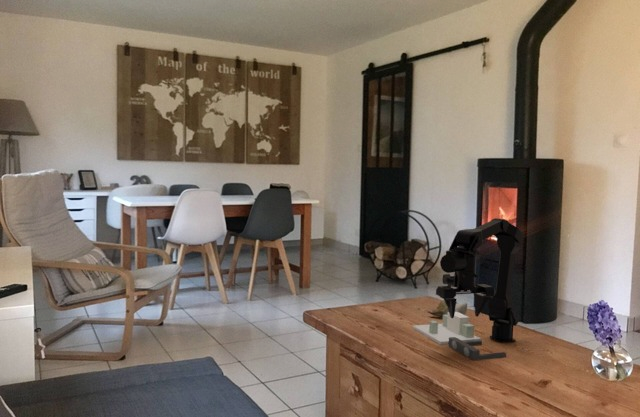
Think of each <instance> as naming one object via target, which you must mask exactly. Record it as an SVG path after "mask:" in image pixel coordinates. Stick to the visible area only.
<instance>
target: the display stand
mask: <svg viewBox="0 0 640 417" xmlns="http://www.w3.org/2000/svg"><path fill="white" fill-rule="evenodd" d="M412 329H413V330H414V331H416V332H418V333H420V334H421V335H422V336H425V337H427V338H428V339H430V340H432V341H434V342H435V343H436V344H439V345H440V346H443V345H449V338H450V337H456V338H458V339H460V340H462V341H463V342H464V341H476V340H481V341H482V338H481V337H479V336H476V335H475V325H473V324H471V323H470V317H469V316H467V315H466V314H465V315H463V314H461V313H459V312H455V314H454V318H451V317H450V314H449V312H448V313H447V315H443V317H442V323H439V322H438V321H436V320H429V323H428V324H418V325H417V324H415V325H412Z"/></svg>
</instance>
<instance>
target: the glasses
mask: <svg viewBox="0 0 640 417" xmlns="http://www.w3.org/2000/svg"><path fill="white" fill-rule="evenodd" d="M480 345H481V346H482V345H483V341H482V339H481V340H476V341H464V342H463V341H462V340H460V339H458V338H456V337H450V338H449V344H448V347H449V348H451V349H453V350H454V351H456V352H457V353H460V354H461V355H463V356H464V357H466V358H468V359H470V360H471V361H480V360H489V359H490V360H491V359H500V358H507V353H506V352H504V351H503V352H493V353H491V352H490V353H482V354H481V352H480V351H481V350H480V349H478V348H476V347H475V346H480Z"/></svg>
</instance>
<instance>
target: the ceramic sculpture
mask: <svg viewBox="0 0 640 417" xmlns="http://www.w3.org/2000/svg"><path fill="white" fill-rule="evenodd" d="M467 309H468V303H467V302H465V303H458V302H457V301H456V307H455V312H459V313H461V314H463V315H465V316H466V313H467V311H468V310H467ZM448 312H449V311H448V307H447V305H446V302H445V300H444V299H443V300H441V301H440V302H439V303H438V306H437V307H436V309H433V310H428V311H427V313H428V314H430V315H431V316H434V317H437V318H438V317H442V318H443V315H447V313H448Z"/></svg>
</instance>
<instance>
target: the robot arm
mask: <svg viewBox="0 0 640 417" xmlns="http://www.w3.org/2000/svg"><path fill="white" fill-rule="evenodd" d="M493 236H494V238H496V245H497V248H498V250H499V253H500V254H499V263H498V270H497V272H498V273H497V279H496V287H495V288H494V287H493V286H492V285H489V284H485V283H480V284H479V283H478V284H477V283H476V278H478V277H479V274H478V273H476V272H477V270H476V268H477V256H480V255H481V252H480V251H478V249H479V248H481V246H482V245H483V242H484V241H485V240H487V239H490V238H491V237H493ZM523 240H524V233H523V232H522V230H521V229H520V228H519V227H517V226H516V225H514V224H512V223H510V222H509V221H508V220H507V219H504V218H492V219H491V220H490V221H488V222H486V223H483V224H481V225H480V226H476V227H474V228H468V229H467V228H466V229H460V230H458V231H457V232H456V235H455V236H454V238H453V240H452V242H451V245H450V246H449V249H448V250H446V251H445V255H443V256H442V257H441V259H440V261H439V263H440V265H439V266H440V268H441V270H442V271H443V272H444V273H445V274H442V279H441V280H442V284H443V285H440V286H437V287H436V288H435V295H437V296H439V298H441V299H443V300H445V302H446V305H447V307H448V311H449V314H450V317H451V318H454V314H455V307H456V302H457V298H456V296H457V295H467V294H473V296H474V299H475V301H474V302H475V303H474V304H475V305H474V315H475V317H476V318H477V317H479V316H480V314H481V312H482V310H483V309H484V307H485V305H486V304H487V302H488V305H487V315H488V319H489V321H491V322H492V327H491V335H489V338H490V339H493V340H495V341H497V342H498V343H509V342H510V343H511V342H516V338H514V326H517V325H518V323H519V320H520V319H519V318H520V317H519V316H518V314H517V313H516V311H515V301H514V300H513V298H512V296H511V292H512V284H513V278H514V277H513V275H514V268H515V261H516V260H515V259H516V254H517V253H518V251H520V249H521V247H522V244H523V242H524V241H523ZM450 273H454V274H453V275H452V276H451V274H450Z"/></svg>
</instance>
